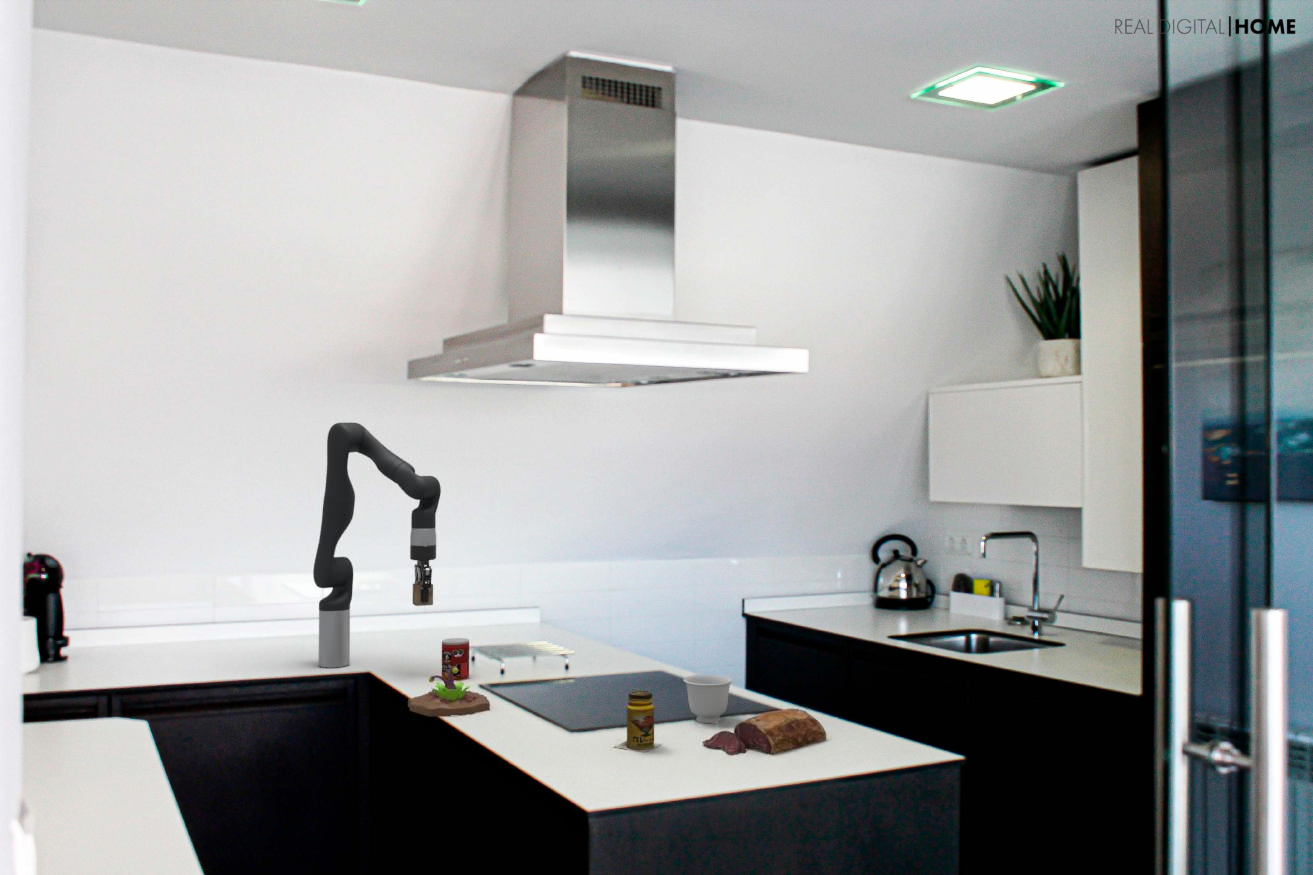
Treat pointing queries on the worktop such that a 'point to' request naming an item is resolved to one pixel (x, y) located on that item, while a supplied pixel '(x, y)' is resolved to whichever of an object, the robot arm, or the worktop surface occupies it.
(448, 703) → the plant
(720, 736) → the cured meat
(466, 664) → the canned food
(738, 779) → the worktop surface
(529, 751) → the worktop surface
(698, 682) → the teacup
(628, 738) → the condiment
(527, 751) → the worktop surface
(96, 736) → the worktop surface
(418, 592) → the walnut block
